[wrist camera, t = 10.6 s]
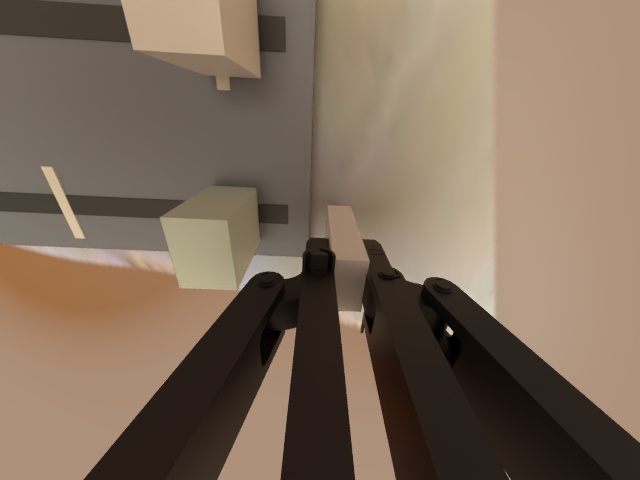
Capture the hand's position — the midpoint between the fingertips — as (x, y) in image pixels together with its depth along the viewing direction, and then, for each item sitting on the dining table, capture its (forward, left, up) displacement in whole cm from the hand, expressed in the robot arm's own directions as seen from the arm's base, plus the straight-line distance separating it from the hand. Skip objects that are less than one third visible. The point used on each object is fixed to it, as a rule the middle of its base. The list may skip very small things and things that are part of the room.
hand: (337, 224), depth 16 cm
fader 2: (0, -7, -1) cm, 7 cm away
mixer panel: (-5, -15, -3) cm, 16 cm away
